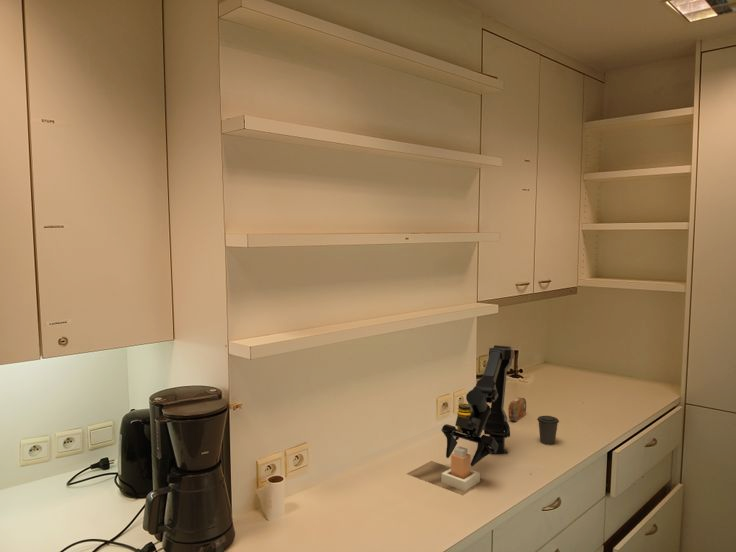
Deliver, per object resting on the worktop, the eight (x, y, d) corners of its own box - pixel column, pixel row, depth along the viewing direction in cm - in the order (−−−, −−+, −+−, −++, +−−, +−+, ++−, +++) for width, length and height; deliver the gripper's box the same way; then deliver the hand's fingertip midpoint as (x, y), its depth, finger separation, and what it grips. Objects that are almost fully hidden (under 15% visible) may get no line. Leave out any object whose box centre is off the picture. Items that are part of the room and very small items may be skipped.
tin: (513, 423, 229) (514, 404, 229) (506, 422, 231) (507, 403, 231) (526, 414, 241) (527, 396, 241) (520, 413, 243) (520, 394, 243)
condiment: (457, 437, 214) (457, 407, 213) (454, 429, 222) (454, 401, 222) (475, 437, 214) (476, 407, 213) (471, 429, 222) (472, 401, 222)
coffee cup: (560, 447, 204) (560, 421, 203) (537, 445, 205) (538, 420, 205) (557, 439, 212) (557, 414, 211) (535, 437, 213) (536, 413, 212)
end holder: (441, 482, 172) (441, 473, 172) (456, 473, 179) (456, 464, 178) (464, 491, 166) (465, 481, 166) (479, 481, 173) (479, 472, 172)
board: (406, 477, 179) (406, 473, 178) (431, 464, 189) (431, 460, 189) (462, 499, 164) (462, 495, 164) (486, 483, 174) (486, 479, 174)
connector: (450, 482, 172) (451, 449, 171) (458, 477, 175) (458, 445, 175) (462, 486, 169) (463, 452, 168) (470, 481, 172) (470, 448, 172)
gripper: (444, 400, 180) (424, 441, 173) (494, 412, 167) (475, 457, 160) (457, 417, 186) (438, 458, 179) (506, 430, 174) (488, 474, 167)
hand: (459, 461), depth 171 cm, fingers open, 9 cm apart
